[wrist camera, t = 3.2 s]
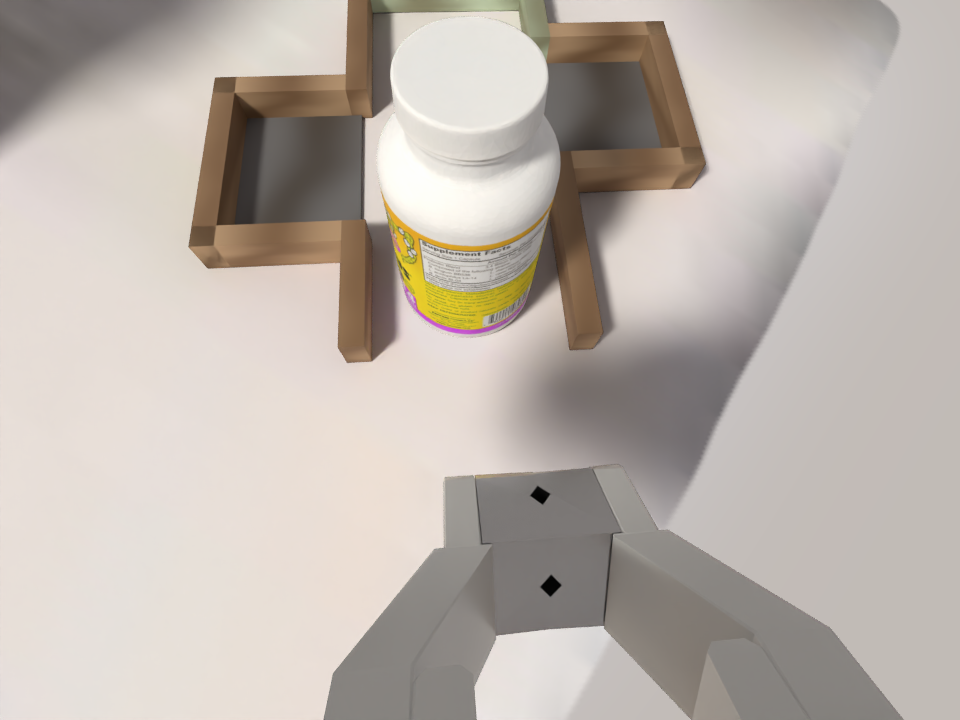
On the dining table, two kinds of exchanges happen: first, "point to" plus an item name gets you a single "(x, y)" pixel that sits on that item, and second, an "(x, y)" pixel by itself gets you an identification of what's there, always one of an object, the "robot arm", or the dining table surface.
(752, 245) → the dining table surface
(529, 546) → the robot arm
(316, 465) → the dining table surface
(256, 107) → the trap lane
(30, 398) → the dining table surface
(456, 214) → the supplement bottle
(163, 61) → the dining table surface
